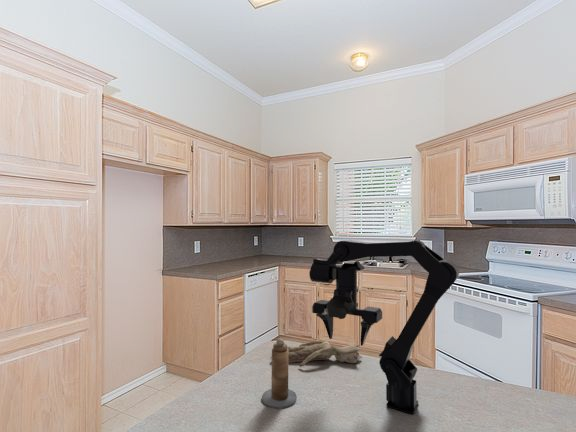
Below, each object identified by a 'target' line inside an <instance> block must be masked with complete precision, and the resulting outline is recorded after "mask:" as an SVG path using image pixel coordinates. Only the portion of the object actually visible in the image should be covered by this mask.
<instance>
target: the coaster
mask: <svg viewBox="0 0 576 432" xmlns="http://www.w3.org/2000/svg"><path fill="white" fill-rule="evenodd" d="M261 401H262V403H263V405H266V406H267V407H270V408H273V409H285V408H289V407H292V406H293V405H295V403H296V402H297V394H296V392H295V391H293V390H291V389H289V388H288V398H287V399H286V400H283V401H277V400H274V399H272V397H271V388H270V389H267V390H265V392H264V393H262V395H261Z"/></svg>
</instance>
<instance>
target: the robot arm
mask: <svg viewBox="0 0 576 432" xmlns="http://www.w3.org/2000/svg"><path fill="white" fill-rule="evenodd" d="M373 257H374V258H375V257H376V258H377V257H382V258H383V257H384V258H385V257H411V258H413V259H414V260H415V261H416V262H417V263H418V264H419V265H420V266H421V267H422V268H423V269H424V271H426V272H427V274H428V275H427V278H426V282H425V286H424V290H423V293H422V294H421V296H420V298H419V300H418V302H417V304H416V305H415V307H414V309H413V310H412V313H411V314H410V316H409V318H408V319H407V321H406V323H405V325H404V326H403V328H402V330H401V332H400V334H399V336H397V338H396V337H394V336H391V337H389V339H388V340H387V341H386V342H385V345H384V348H383V350H382V351H380V353H379V354H378V356H379V357H380V358H379V366H380V369H381V371H382V372H383V373H384V375H385V377H386V380H387V383H386V385H385V388H386V389H385V391H386V392H385V395H386V396H385V398H386V399H385V400H386V401H387V403H386V407H387V408H389V409H393V410H396V411H400V412H404V413H406V414H410V415H414V414H415V412H416V409H417V407H418V404H419V400H418V399H417V398H418V397H417V396H418V395H417V380H415V379H414V377H416V375H417V372H418V368H417V367H416V365H414V363H413V362H412V361H411V360H410V357H411V354H412V350H413V347H414V343H415V341H416V340H417V338H418V336H419V335H420V333H421V331H422V329H423V327H424V326H425V324H426V323H427V321H428V319H429V317H430V315H431V313H432V312H433V311H434V308H435V307H436V305H437V303H438V302H439V300H440V299H441V297H443V296H444V294H446V292H447V291H448V290H449V289H451V287H452V286H453V284H454V283H455V282H456V281H457V279H458V278H459V275H460V269H459V267H458V265H457V264H456V263H455V262H453V261H452V260H449V259H444V258H443V257H442V256H441V255H440V254H438V253H437V252H435V251H434V250H433V249H431V248H430V247H428V246H427V245H426V244H425V242H423V241H421V240H418V239H415V240H410V241H409V240H408V241H387V242H366V241H360V240H352V239H346V240H339V241H337V242H336V243H335V244H334V246H333V250H332V252H331V255H329V256H328V259H322V258H314V259H313V260H312V264H311V266H310V268H309V269H310V270H309V273H308V275H309V278H310V281H311V282H312V283H314V282H315V283H323V284H330V285H331V284H333V282H334V281H335V289H334V290H333V295H332V297H331V298H330V300H326V299H320V300H318V301H315V302H314V303H313V304H312V306H311V312H312V313H313V314H316V316H317V317H318V318H320V319H321V320H322V322H323V325H324V327H325V330H326V332H327V336H328V338H329V340H331V339H333V336H334V335H333V333H334V318H338V319H339V320H344V319H345V318H346V317H347V315H351V316H357V317H361V320H362V321H360V322H359V323H360V326H361V329H360V346H364V344H365V342H366V339H367V336H368V333H369V331H370V329H371V328H372V326H374V325H375V324H377V323H379V321H381V320H382V319H383V310H382V309H381V307H376V306H375V307H374V306H366V307H365V308H363V309H362V308H358V307H359V302H358V301H357V300H358V299H357V298H358V293H359V288H358V283H357V282H358V272H359V271H363V270H365V266H364V265H363V264H361V262H360V261H359V259H364V258H373ZM355 260H357V261H355ZM349 261H350V263H349ZM351 261H354V262H353V263H352V262H351ZM341 263H343V264H342V265H338V264H341Z"/></svg>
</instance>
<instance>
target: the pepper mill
mask: <svg viewBox="0 0 576 432" xmlns="http://www.w3.org/2000/svg"><path fill="white" fill-rule="evenodd" d="M287 346H288V344H287V343H285V341H284V339H283V338H277V340H276V342H275V343H274V344H273V347H272V349H271V385H270V386H271V387H270V389H271V397H272V399H274V400H277V401H283V400H286V399H287V398H288V389H289V362H288V357H289V350H288V348H287Z"/></svg>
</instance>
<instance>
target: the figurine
mask: <svg viewBox="0 0 576 432" xmlns="http://www.w3.org/2000/svg"><path fill="white" fill-rule="evenodd" d="M287 348H288V350H289V357H288V363H294V362H296V363H297V362H300V363H299V364H298V366H299V367H300V368H301V367H303V366H305V365H306V364H308V363H309V362H311V361H323V360H325V361H326V360H329V359H331V357H332V356H334V358H335V359H336V361H338V362H339V363H349V364H356V363H357V362H358V361H360V359H362V358H363V356H362V355H360V353H359V351H360V350H361V349H360V345H359V344H357V345H356V344H355V345H346V346H340V347H339V348H338V347H336V346H334V345H331V344H330V343H329V342H328V341H326V340H311V341H309V342H306V343H302V344H300V345H299V346H288V345H287Z"/></svg>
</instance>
